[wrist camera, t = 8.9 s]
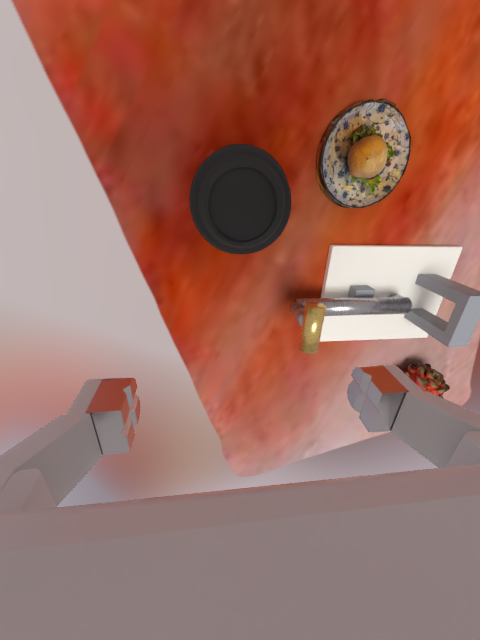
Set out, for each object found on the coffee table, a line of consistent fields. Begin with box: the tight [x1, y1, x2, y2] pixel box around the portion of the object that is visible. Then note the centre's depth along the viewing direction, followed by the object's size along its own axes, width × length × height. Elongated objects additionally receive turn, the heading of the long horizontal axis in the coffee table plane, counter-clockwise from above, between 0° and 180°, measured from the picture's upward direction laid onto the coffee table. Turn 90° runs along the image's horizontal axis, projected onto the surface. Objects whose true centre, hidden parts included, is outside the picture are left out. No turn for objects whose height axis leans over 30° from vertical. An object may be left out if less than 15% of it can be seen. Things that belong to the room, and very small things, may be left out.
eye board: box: [320, 245, 480, 347], centre depth 40 cm, size 21×16×10 cm
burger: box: [316, 99, 411, 208], centre depth 32 cm, size 12×12×8 cm
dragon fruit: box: [404, 363, 450, 399], centre depth 51 cm, size 8×8×12 cm
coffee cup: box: [190, 144, 291, 254], centre depth 29 cm, size 9×9×15 cm
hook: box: [290, 293, 412, 354], centre depth 38 cm, size 19×6×10 cm, turn 88°
